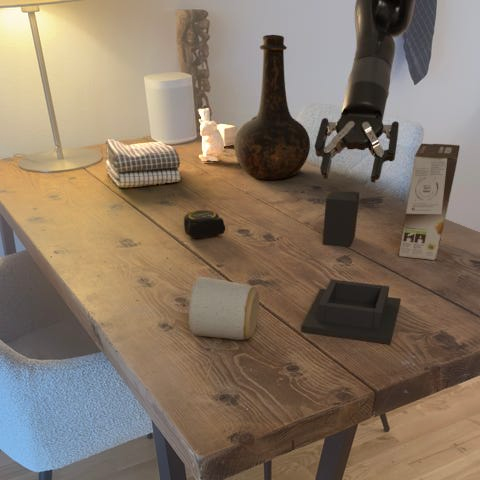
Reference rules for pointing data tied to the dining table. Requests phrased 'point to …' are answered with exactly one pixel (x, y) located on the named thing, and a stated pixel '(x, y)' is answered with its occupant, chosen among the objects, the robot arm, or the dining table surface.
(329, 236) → the dark grey rectangular block
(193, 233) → the tape measure
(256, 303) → the off-white cylinder
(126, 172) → the towel
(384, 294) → the base pad
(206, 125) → the white upright figurine
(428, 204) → the coffee box
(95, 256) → the dining table surface
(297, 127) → the glass bottle
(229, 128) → the small box
